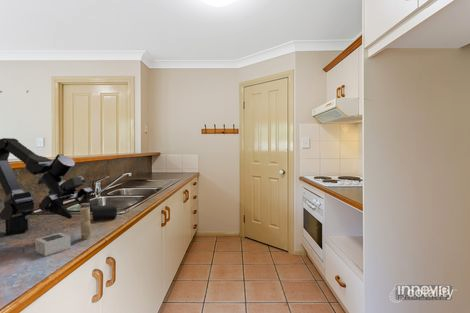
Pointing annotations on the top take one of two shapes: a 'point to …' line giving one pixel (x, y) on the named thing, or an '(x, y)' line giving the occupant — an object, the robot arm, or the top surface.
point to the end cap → (104, 212)
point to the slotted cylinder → (85, 220)
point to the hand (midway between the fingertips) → (81, 214)
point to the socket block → (52, 244)
